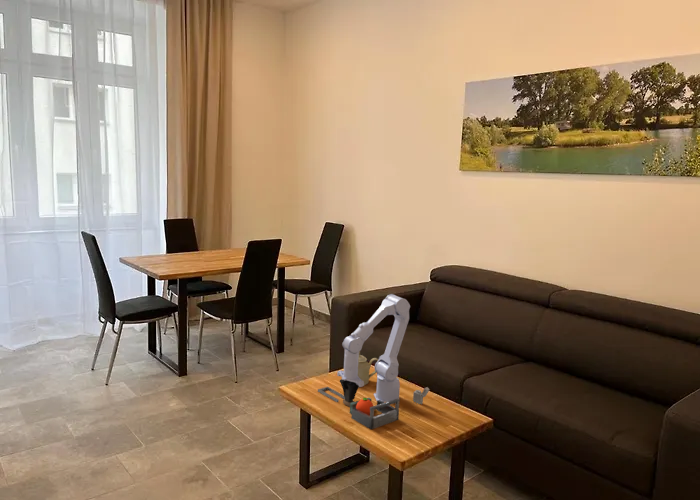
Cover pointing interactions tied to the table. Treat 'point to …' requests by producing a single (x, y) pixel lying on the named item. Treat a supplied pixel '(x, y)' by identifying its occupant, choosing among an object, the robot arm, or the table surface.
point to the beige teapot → (364, 368)
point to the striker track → (330, 395)
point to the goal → (379, 420)
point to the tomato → (364, 406)
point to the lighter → (420, 395)
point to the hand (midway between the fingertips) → (349, 397)
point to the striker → (349, 402)
